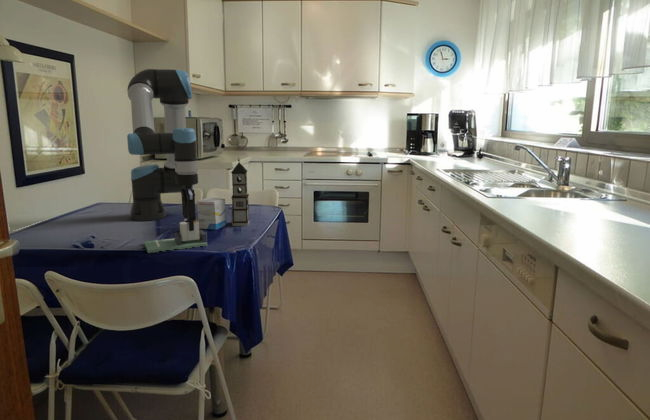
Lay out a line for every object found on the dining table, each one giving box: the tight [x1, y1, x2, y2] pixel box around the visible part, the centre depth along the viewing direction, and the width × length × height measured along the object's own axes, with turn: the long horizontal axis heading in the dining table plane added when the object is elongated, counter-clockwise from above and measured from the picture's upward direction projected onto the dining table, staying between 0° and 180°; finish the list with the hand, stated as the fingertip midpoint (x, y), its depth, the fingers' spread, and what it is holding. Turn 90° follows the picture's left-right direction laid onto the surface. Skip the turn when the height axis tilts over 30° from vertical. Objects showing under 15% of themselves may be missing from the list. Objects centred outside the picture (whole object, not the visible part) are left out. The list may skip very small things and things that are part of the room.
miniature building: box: [230, 158, 250, 227], centre depth 192 cm, size 7×7×30 cm
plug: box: [179, 218, 200, 241], centre depth 164 cm, size 4×6×7 cm, turn 116°
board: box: [143, 229, 209, 254], centre depth 164 cm, size 12×20×4 cm, turn 117°
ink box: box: [196, 197, 227, 231], centre depth 189 cm, size 9×8×12 cm
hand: (190, 237), depth 165 cm, fingers closed on plug, 4 cm apart
